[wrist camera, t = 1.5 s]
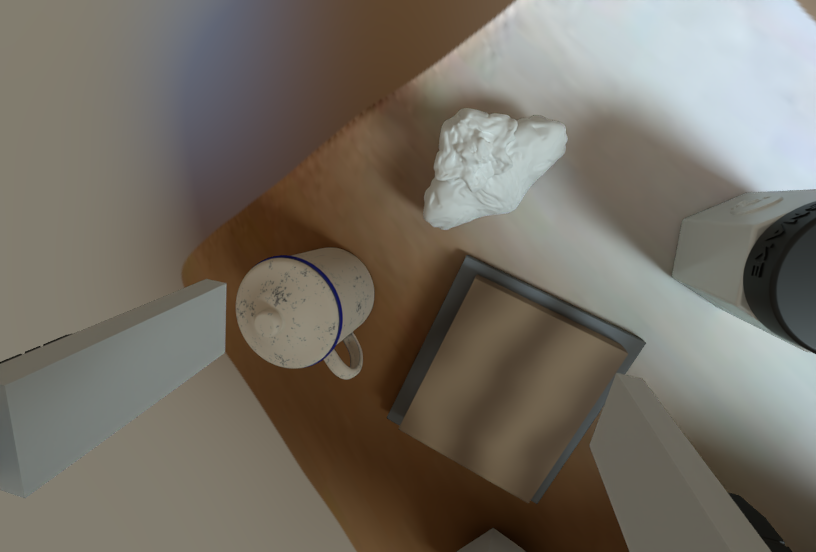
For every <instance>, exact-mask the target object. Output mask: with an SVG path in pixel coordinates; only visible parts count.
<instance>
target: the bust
mask: <svg viewBox="0 0 816 552" xmlns="http://www.w3.org/2000/svg"><path fill="white" fill-rule="evenodd" d="M567 140H568V137H567V135H566V128H565V125H564V124H563V123H561V122H558V121H553V120H549V119H547V118H545V117H543V116H538V115H533V116H531V117H530V118H529V119H526V118H520V119H518V120H515V119H511V118H510V116H509V115H506V114H498V113H492V114H490V115H489V114H488V113H486V112H482V111H480V110H476V109H471V108H463V109H460V110H459V111H458V112H457V113H456V115H454V116H453V117H452V118H450V119H447V120H445V122H444V123H443V125H442V128H441V132H440V138H439V152H437V155H436V159H435V162H434V170H435V178H434V179H433V180H432V181H431V185H430V187H429V188H427V189H426V191H425V194H424V202H425V204H424V210H423V217H424V219H425V220H426V221H427V222H429V223H430V224H431V225H432V226H433V227H439V228H440V229H442V230H448V229H450V228H452V227H456V226H459V225H461V224H463V223H467V222H470V221H472V220H474V219H476V218H480V217H483V216H488V215H493V214H505V213H510V212H511V211H513V210H515V209H516V208H517V206H518V204H519V203H520V202H521V200H522V198H523V196H524V195H525V194H526V192H527V191H528V189H529V188H530V187H531V186H532V185H533V184H534V182H535V181H536V180H537V179H538V178H540V177H541V176H542V175H543V174H544V173H545V172H546V171H547V170H548V169H549V168H550V167H552V166H553V164H554V163H555V162H556V161H557V160H558V159H559V158H561V157H562V156H563V155H564V153H565V150H566V146H565V144H566V142H567Z"/></svg>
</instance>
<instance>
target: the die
mask: <svg viewBox="0 0 816 552" xmlns="http://www.w3.org/2000/svg"><path fill="white" fill-rule="evenodd" d="M457 552H526V551H525V550H524V549H522V548H521V547H519V546H518V545H517V544H515V543H514V542H512V541H511V540H510V539H508V538H507V537H505V536H504V535H503V534H501V533H500V532H498V531H497V530H496V529H494V528H492V529H490V530H489V531H487V532H486V533H484V534H483V535H481V536H480V537H478V538H477V539H475V540H473V541H472V542H470V543H469V544H467V545H466V546H464V547H463V548H461V549H460V550H458V551H457Z"/></svg>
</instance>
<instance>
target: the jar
mask: <svg viewBox="0 0 816 552" xmlns="http://www.w3.org/2000/svg"><path fill="white" fill-rule="evenodd" d="M672 277H673V278H674V279H675V280H677V281H678V282H680V283H681V284H683V285H684V286H686V287H687V288H689V289H690V290H692V291H693V292H695V293H696V294H698V295H700V296H701V297H703V298H704V299H706V300H707V301H709V302H710V303H712V304H713V305H715V306H716V307H718V308H719V309H721V310H723V311H725V312H727V313H729V314H731V315H733V316H735V317H737V318H739V319H741V320H743V321H745V322H747V323H749V324H751V325H753V326H755V327H757V328H759V329H761V330H763V331H765V332H767V333H769V334H771V335H773V336H775V337H777V338H779V339H781V340H783V341H785V342H787V343H789V344H791V345H793V346H795V347H797V348H799V349H801V350H803V351H806V352H812V353H815V354H816V189H810V190H789V191H768V192H748V193H745V194H743V195H740V196H738V197H736V198H733V199H731V200H728V201H726V202H724V203H721V204H719V205H716V206H714V207H712V208H709V209H707V210H704V211H702V212H700V213H697V214H695V215H692V216H690V217H687V218H685V219H683V221H682V224H681V230H680V235H679V240H678V245H677V251H676V256H675V261H674V266H673V272H672Z"/></svg>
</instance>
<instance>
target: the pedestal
mask: <svg viewBox="0 0 816 552" xmlns="http://www.w3.org/2000/svg"><path fill="white" fill-rule="evenodd" d="M645 344H646V343H645V342H644V341H643V340H642V339H641V338H639V337H637V336H635V335H633V334H631V333H629V332H626V331H624V330H622V329H620V328H618V327H616V326H614V325H612V324H610V323H608V322H606V321H604V320H602V319H600V318H597V317H595V316H593V315H591V314H589V313H587V312H585V311H583V310H581V309H579V308H577V307H575V306H573V305H571V304H569V303H566V302H564V301H562V300H560V299H558V298H556V297H554V296H552V295H550V294H548V293H546V292H544V291H542V290H540V289H537V288H535V287H533V286H531V285H529V284H527V283H525V282H523V281H521V280H519V279H517V278H515V277H513V276H511V275H508V274H506V273H504V272H502V271H500V270H498V269H496V268H494V267H492V266H490V265H488V264H486V263H484V262H482V261H480V260H477V259H475V258H473V257H471V256H469V255H467V256H466V258H465V260H464V262H463V264H462V266H461V268H460V270H459V272H458V274H457V276H456V278H455V280H454V282H453V284H452V286H451V288H450V290H449V292H448V294H447V296H446V298H445V300H444V302H443V304H442V306H441V309H440V311H439V313H438V315H437V317H436V319H435V321H434V323H433V325H432V327H431V329H430V331H429V333H428V335H427V337H426V339H425V341H424V343H423V345H422V347H421V349H420V351H419V353H418V355H417V357H416V359H415V361H414V363H413V365H412V367H411V369H410V371H409V373H408V376H407V378H406V380H405V382H404V384H403V386H402V388H401V390H400V392H399V394H398V396H397V398H396V400H395V402H394V404H393V406H392V408H391V410H390V412H389V414H388V416H387V419H389V420H391V421H393V422H394V423H396V424H398V425H400V427H399V430H401V431H403V432H404V433H406V434H408V435H409V436H411V437H413V438H415V439H416V440H418V441H420V442H422V443H423V444H425V445H427V446H429V447H430V448H432V449H434V450H436V451H437V452H439V453H441V454H443V455H444V456H446V457H448V458H450V459H451V460H453V461H455V462H457V463H458V464H460V465H462V466H464V467H465V468H467V469H469V470H471V471H472V472H474V473H476V474H478V475H479V476H481V477H483V478H485V479H486V480H488V481H490V482H492V483H493V484H495V485H497V486H499V487H500V488H502V489H504V490H506V491H507V492H509V493H511V494H513V495H514V496H516V497H518V498H520V499H521V500H523V501H525V502H527V503H529V502H530V500H531V501H533V502H534V503H536V504H537V503H538V502H539V500H540V499H541V498H542V496H543V495H544V493H545V492H546V490H547V489H548V487H549V486H550V484H551V483H552V481H553V480H554V478H555V477H556V475H557V474H558V472H559V471H560V469H561V468H562V467H563V465H564V464H565V462H566V461H567V459H568V458H569V456H570V455H571V453H572V452H573V450H574V449H575V447H576V446H577V444H578V443H579V441H580V440H581V438H582V437H583V436H584V434H585V433H586V431H587V430H588V428H589V427H590V425H591V424H592V422H593V421H594V419H595V418H596V416H597V415H598V413H599V412H600V410H601V409H602V407H603V406H604V405H605V402H606V399H607V397H608V394H609V391H610V388H611V386H612V383H613V380H614V378H615V375H616V373H620V374H624V375H625V374H626V372H627V371H628V369H629V368H630V366H631V365H632V363H633V362H634V360H635V359H636V357H637V356H638V354H639V353H640V351H641V350H642V348H643V347H644V345H645Z"/></svg>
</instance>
